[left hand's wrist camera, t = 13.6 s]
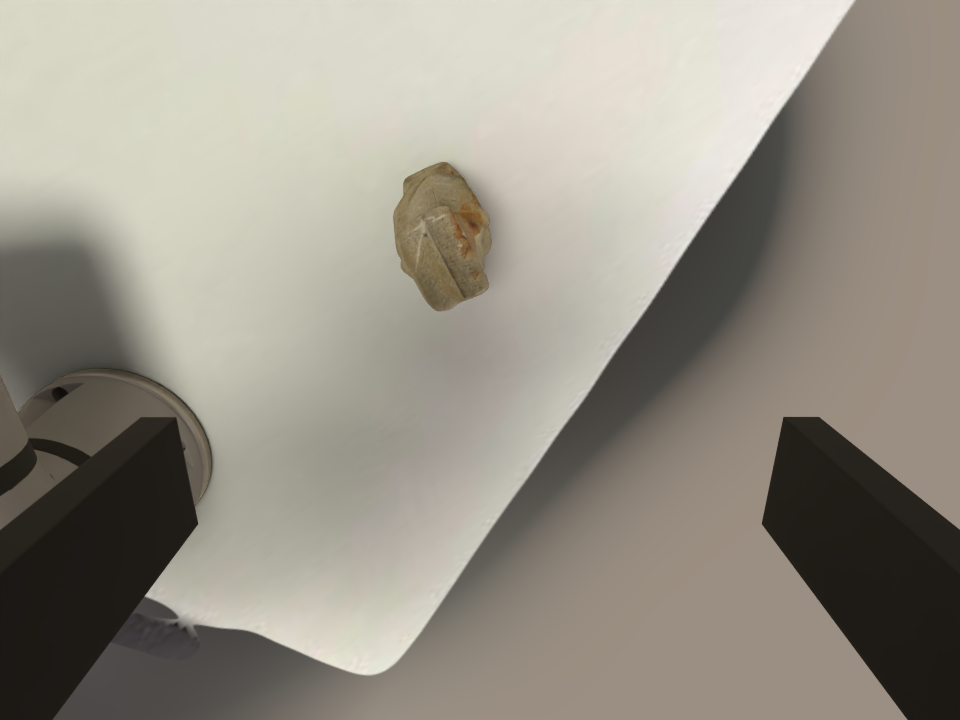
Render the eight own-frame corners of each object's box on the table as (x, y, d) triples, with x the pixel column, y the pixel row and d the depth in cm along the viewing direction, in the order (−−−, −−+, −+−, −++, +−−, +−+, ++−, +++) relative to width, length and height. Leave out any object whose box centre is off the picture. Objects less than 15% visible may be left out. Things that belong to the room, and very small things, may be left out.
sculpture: (431, 273, 44) (408, 333, 30) (392, 181, 42) (348, 199, 28) (503, 245, 43) (514, 294, 29) (467, 150, 41) (461, 153, 27)
